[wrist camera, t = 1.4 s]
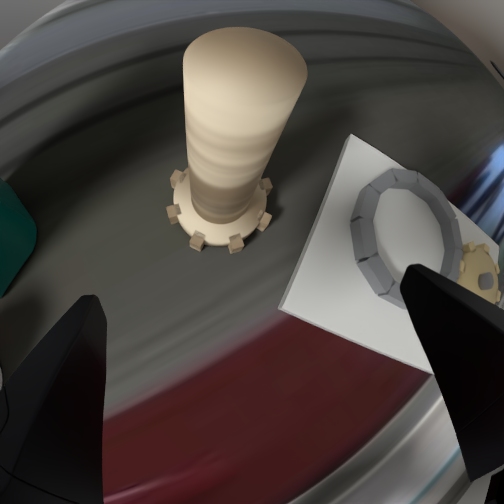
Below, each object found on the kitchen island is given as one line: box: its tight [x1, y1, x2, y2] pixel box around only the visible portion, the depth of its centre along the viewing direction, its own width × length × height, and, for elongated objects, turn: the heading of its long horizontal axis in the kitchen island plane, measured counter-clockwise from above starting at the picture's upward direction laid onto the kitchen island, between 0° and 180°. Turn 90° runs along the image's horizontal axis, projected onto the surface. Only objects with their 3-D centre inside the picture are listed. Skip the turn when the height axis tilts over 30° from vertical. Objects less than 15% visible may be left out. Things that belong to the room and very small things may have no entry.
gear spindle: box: [166, 27, 307, 254], centre depth 15 cm, size 8×8×14 cm
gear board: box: [278, 134, 501, 375], centre depth 22 cm, size 16×22×4 cm
